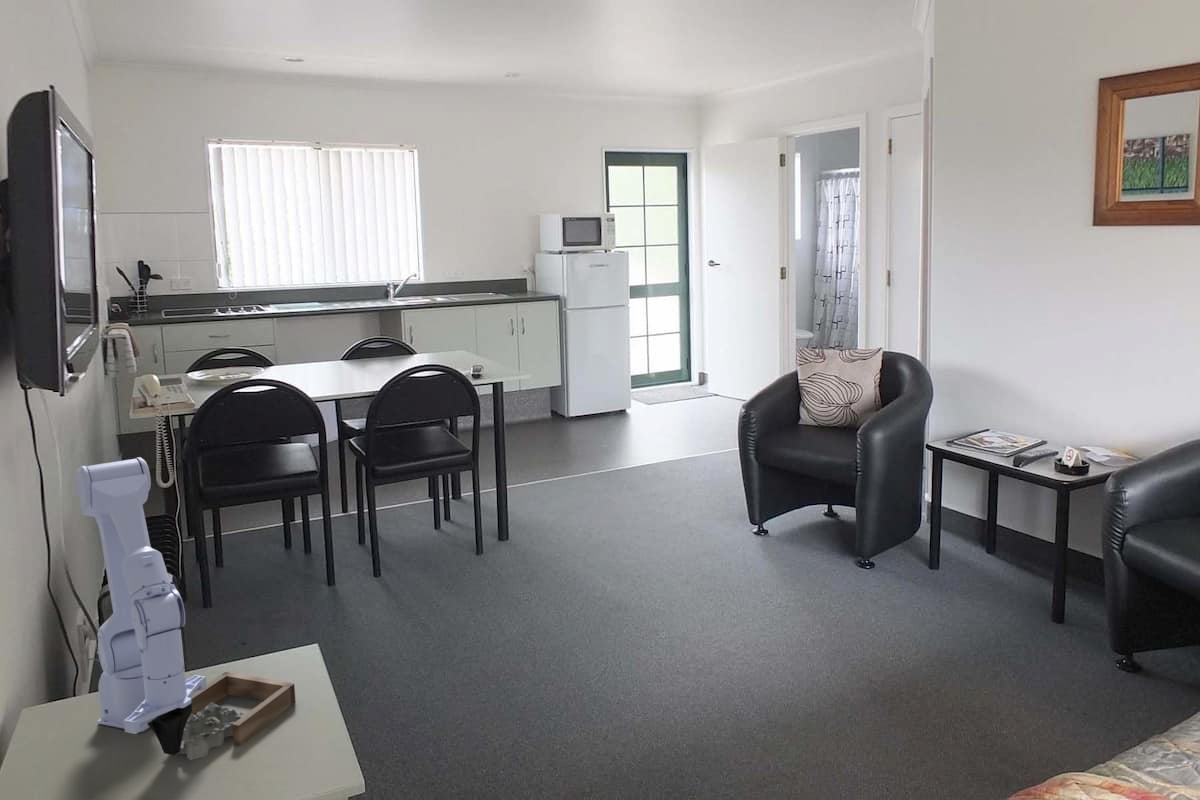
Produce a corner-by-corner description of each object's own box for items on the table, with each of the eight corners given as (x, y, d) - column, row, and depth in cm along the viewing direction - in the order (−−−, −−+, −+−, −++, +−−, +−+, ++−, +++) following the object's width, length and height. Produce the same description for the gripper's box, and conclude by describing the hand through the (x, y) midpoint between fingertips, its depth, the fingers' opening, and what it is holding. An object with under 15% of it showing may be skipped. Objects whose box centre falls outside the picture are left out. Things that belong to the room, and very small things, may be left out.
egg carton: (196, 764, 141) (193, 739, 140) (160, 753, 144) (158, 729, 144) (248, 729, 151) (246, 706, 150) (214, 719, 154) (212, 697, 153)
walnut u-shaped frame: (167, 731, 150) (165, 711, 150) (227, 690, 164) (225, 671, 163) (240, 745, 146) (238, 725, 145) (295, 702, 159) (294, 683, 159)
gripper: (147, 697, 131) (156, 783, 134) (218, 653, 145) (225, 732, 147) (109, 690, 133) (118, 774, 136) (182, 647, 147) (190, 725, 149)
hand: (171, 752), depth 142 cm, fingers closed
